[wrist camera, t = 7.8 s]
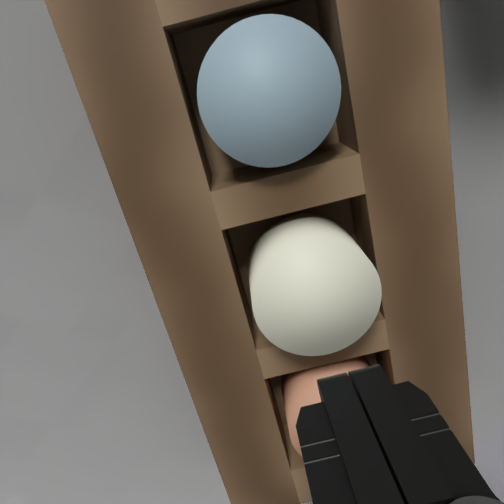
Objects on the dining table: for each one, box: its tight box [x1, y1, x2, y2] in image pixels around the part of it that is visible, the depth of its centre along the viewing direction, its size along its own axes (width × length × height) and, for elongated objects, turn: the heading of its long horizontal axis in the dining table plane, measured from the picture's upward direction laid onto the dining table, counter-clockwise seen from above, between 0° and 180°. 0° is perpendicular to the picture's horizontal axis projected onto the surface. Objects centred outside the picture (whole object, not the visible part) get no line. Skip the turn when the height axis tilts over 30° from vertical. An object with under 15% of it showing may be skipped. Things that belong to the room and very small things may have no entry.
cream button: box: [248, 214, 382, 356], centre depth 17 cm, size 5×5×3 cm
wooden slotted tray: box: [45, 0, 475, 504], centre depth 19 cm, size 12×24×4 cm, turn 14°
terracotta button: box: [281, 355, 371, 456], centre depth 21 cm, size 5×5×3 cm
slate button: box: [197, 14, 341, 168], centre depth 16 cm, size 5×5×3 cm
